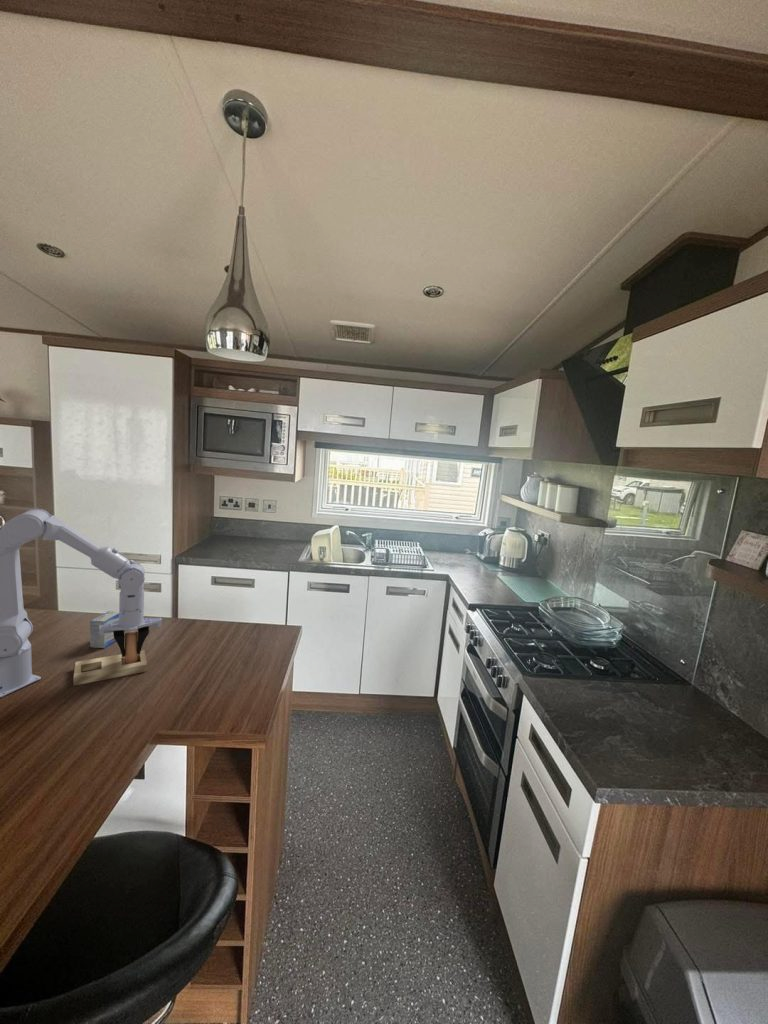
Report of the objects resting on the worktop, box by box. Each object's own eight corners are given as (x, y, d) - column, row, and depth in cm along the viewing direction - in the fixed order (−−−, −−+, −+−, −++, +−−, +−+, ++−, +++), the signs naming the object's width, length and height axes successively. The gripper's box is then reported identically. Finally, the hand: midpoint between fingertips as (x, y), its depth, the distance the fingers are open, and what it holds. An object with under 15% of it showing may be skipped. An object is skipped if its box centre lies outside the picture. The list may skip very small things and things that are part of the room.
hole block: (73, 685, 100) (73, 678, 100) (75, 668, 107) (75, 661, 107) (146, 671, 109) (146, 664, 109) (144, 656, 117) (144, 650, 116)
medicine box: (104, 649, 119) (104, 621, 118) (89, 647, 119) (89, 620, 118) (122, 637, 127) (122, 611, 125) (108, 636, 127) (108, 610, 125)
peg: (130, 667, 109) (130, 636, 108) (121, 665, 110) (122, 634, 109) (139, 662, 112) (140, 632, 111) (131, 660, 113) (131, 630, 112)
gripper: (99, 616, 101) (98, 666, 103) (163, 609, 110) (162, 655, 111) (99, 607, 107) (99, 654, 109) (160, 600, 115) (159, 644, 117)
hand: (130, 654), depth 110 cm, fingers closed on peg, 3 cm apart
